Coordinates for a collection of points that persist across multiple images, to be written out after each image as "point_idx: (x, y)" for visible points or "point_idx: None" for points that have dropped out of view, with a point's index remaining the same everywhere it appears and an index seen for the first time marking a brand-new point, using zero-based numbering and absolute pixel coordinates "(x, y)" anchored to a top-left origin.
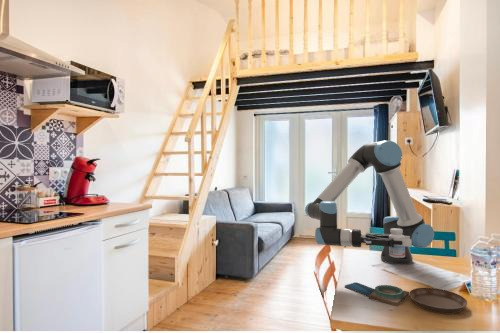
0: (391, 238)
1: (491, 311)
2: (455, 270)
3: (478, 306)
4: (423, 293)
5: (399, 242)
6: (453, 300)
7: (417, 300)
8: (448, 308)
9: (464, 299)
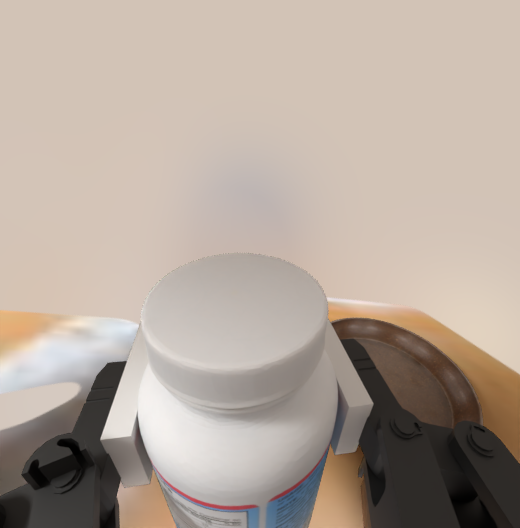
0: (330, 441)
1: (332, 301)
2: (24, 332)
3: None
4: None
5: (369, 366)
6: None
7: None
8: (442, 352)
9: (342, 321)
